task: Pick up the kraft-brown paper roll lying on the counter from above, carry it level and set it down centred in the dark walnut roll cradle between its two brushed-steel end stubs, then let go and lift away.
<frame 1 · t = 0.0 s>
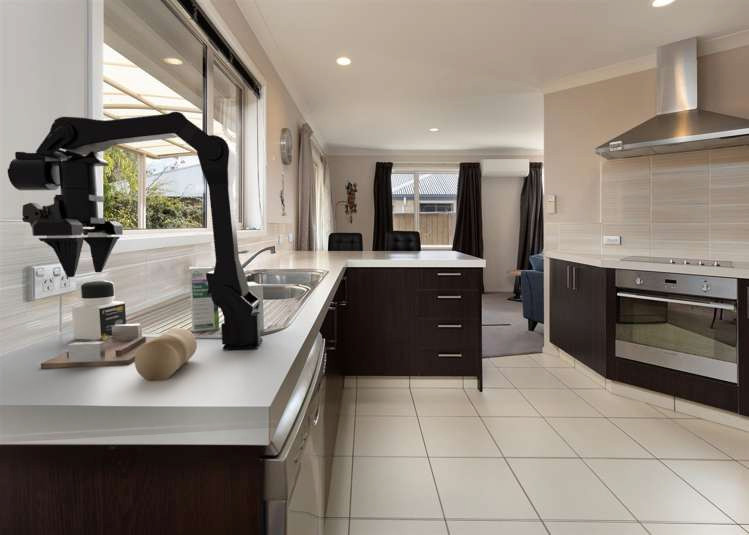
hand: (85, 274, 82), 15 cm above the countertop, tool pointing down, fingers open, 9 cm apart
syrup box: (205, 329, 101), on the countertop
holder stand: (109, 353, 81), on the countertop
medicine bottle: (101, 337, 95), on the countertop
paper roll: (169, 370, 71), on the countertop
small box: (247, 330, 100), on the countertop
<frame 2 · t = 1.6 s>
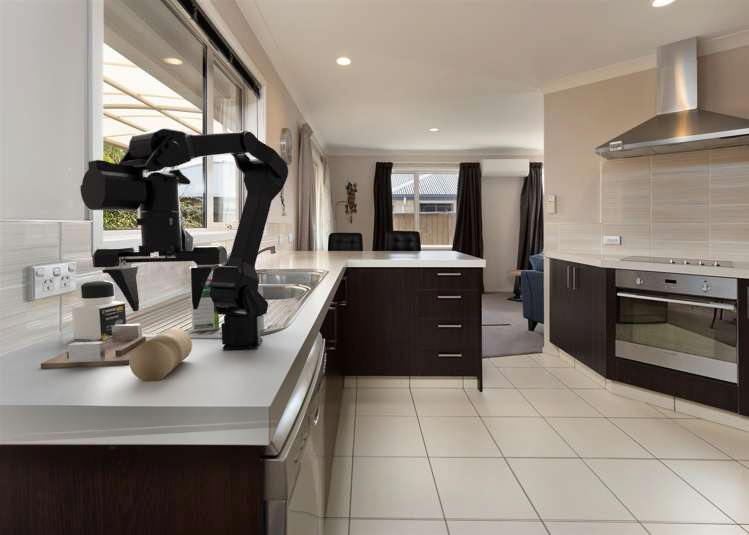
hand: (166, 310, 70), 10 cm above the countertop, tool pointing down, fingers open, 9 cm apart
paper roll: (169, 370, 71), on the countertop, tilted 15°
everything else where it was.
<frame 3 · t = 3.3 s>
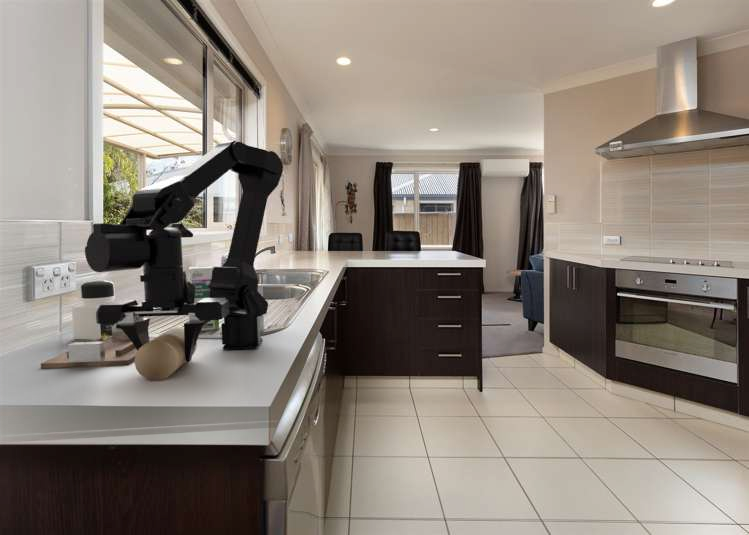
hand: (168, 362, 71), 1 cm above the countertop, tool pointing down, fingers closed on paper roll, 6 cm apart
paper roll: (168, 370, 71), on the countertop, touching gripper
everything else where it was.
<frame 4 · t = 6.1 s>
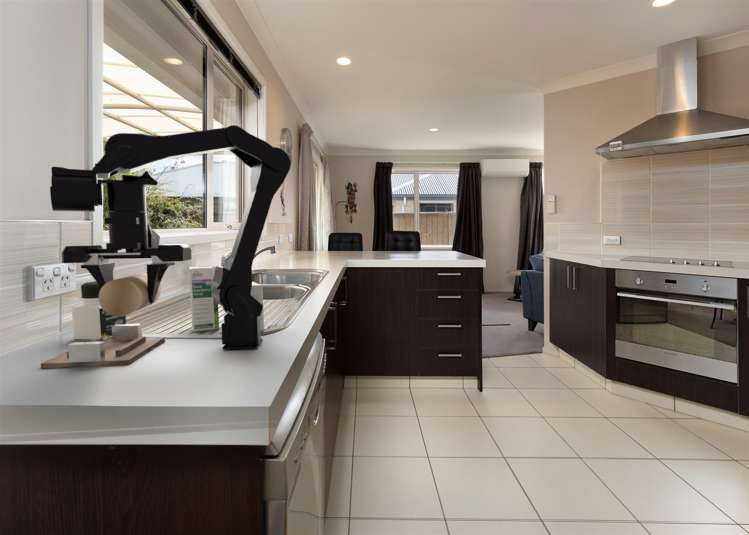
hand: (132, 303, 75), 10 cm above the countertop, tool pointing down, fingers closed on paper roll, 6 cm apart
paper roll: (132, 311, 75), point 9 cm above the countertop, touching gripper
everything else where it was.
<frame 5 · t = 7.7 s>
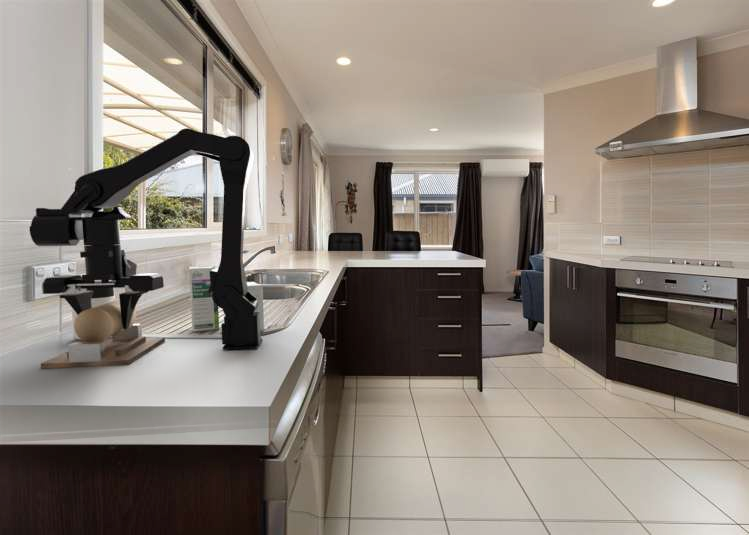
hand: (108, 329, 81), 5 cm above the countertop, tool pointing down, fingers closed on paper roll, 6 cm apart
paper roll: (108, 336, 81), point 3 cm above the countertop, touching gripper
everything else where it was.
when the fingers open (3 cm above the countertop, at t = 8.8 s): paper roll drops 1 cm, resting on holder stand.
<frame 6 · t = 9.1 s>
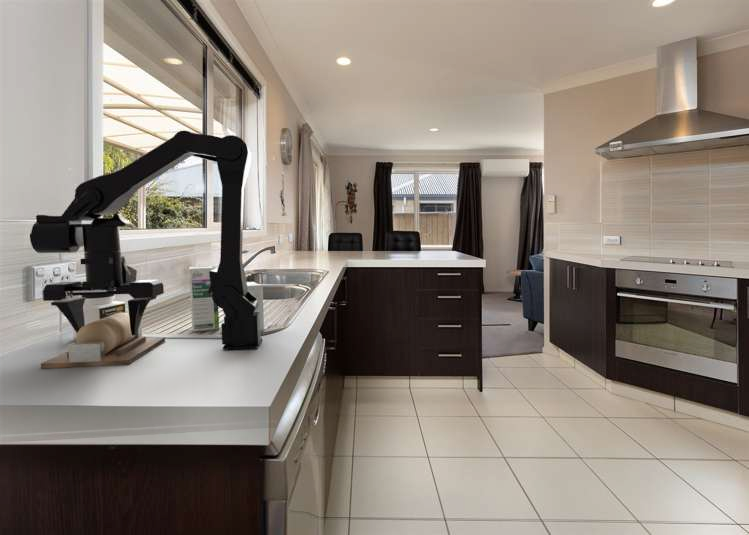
hand: (108, 335, 81), 3 cm above the countertop, tool pointing down, fingers open, 9 cm apart
paper roll: (108, 349, 81), point 1 cm above the countertop, touching holder stand
everything else where it was.
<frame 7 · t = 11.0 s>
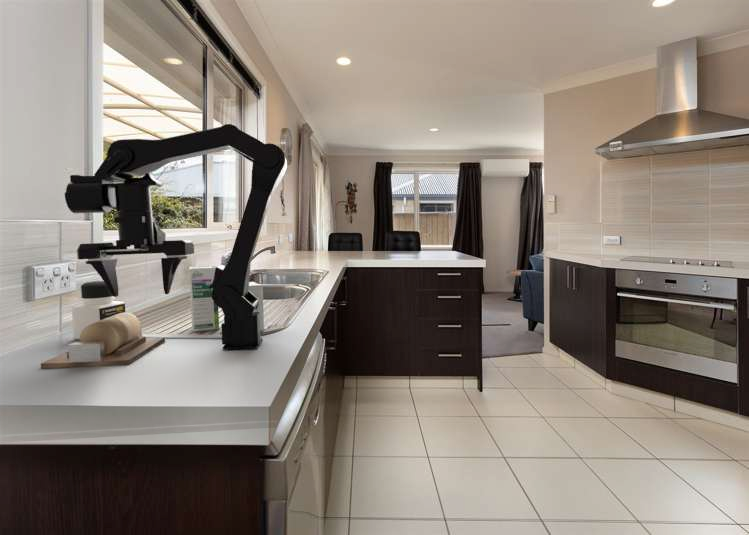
hand: (141, 295, 82), 11 cm above the countertop, tool pointing down, fingers open, 9 cm apart
paper roll: (108, 348, 81), point 1 cm above the countertop, tilted 15°, touching holder stand
everything else where it was.
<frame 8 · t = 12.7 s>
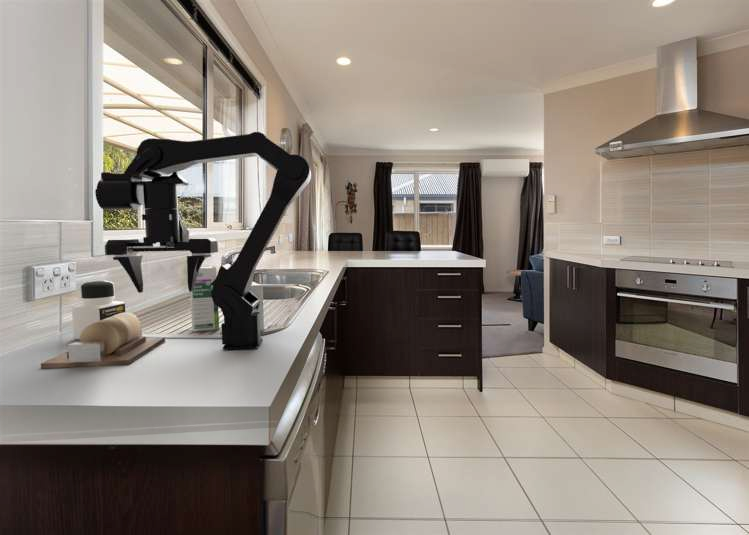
hand: (166, 291, 83), 11 cm above the countertop, tool pointing down, fingers open, 9 cm apart
nothing on the countertop moved.
at the end: paper roll 0.1 cm off-centre on the holder stand, point 0.9 cm above the holder stand's base; paper roll touching holder stand; the gripper is holding nothing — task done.
